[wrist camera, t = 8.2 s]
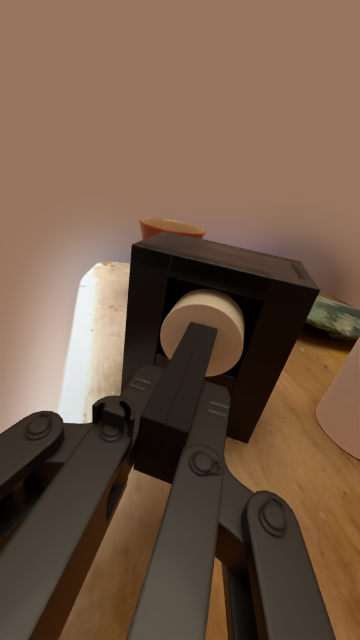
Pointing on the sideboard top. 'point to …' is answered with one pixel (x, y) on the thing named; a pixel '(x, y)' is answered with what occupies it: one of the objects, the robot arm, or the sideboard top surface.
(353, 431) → the candle
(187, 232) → the mug
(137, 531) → the sideboard top surface
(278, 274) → the control box
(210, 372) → the knob
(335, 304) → the decorative stone
